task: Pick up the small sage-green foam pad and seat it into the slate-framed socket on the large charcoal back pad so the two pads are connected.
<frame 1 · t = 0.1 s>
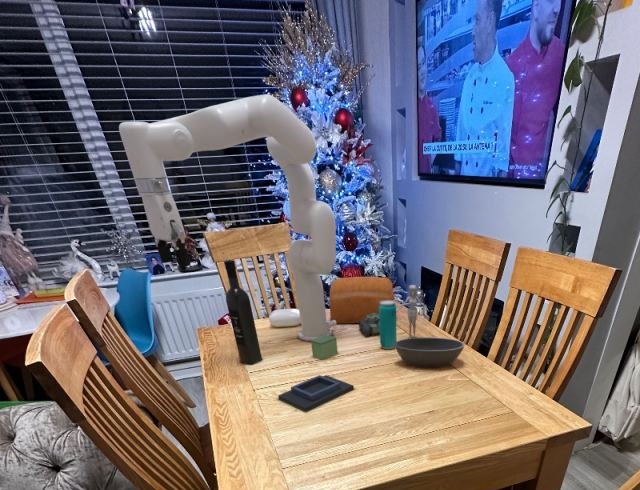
hand: (176, 264, 117), 31 cm above the table, tool pointing down, fingers open, 9 cm apart
back pad: (316, 394, 123), on the table
earbud case: (287, 325, 174), on the table
bowl: (428, 363, 138), on the table
wine bottle: (251, 361, 144), on the table
toy tank: (374, 332, 164), on the table
human figurine: (412, 339, 157), on the table
green pad: (325, 355, 146), on the table
beverage can: (388, 347, 151), on the table
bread: (363, 319, 177), on the table
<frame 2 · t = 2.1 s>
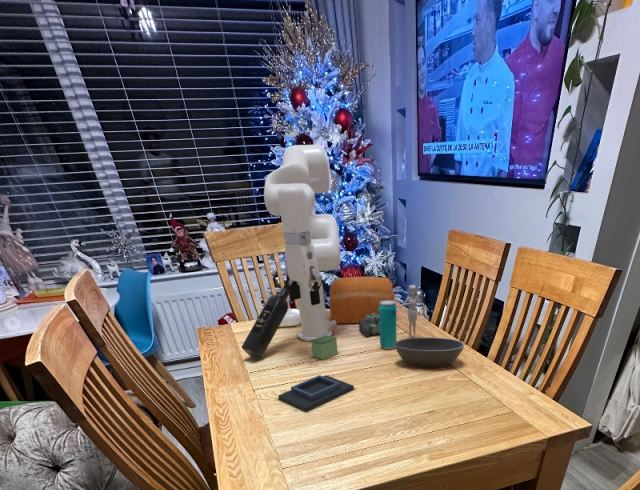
hand: (306, 301, 134), 18 cm above the table, tool pointing down, fingers open, 9 cm apart
wine bottle: (250, 354, 143), point 2 cm above the table, touching arm
everything else where it was.
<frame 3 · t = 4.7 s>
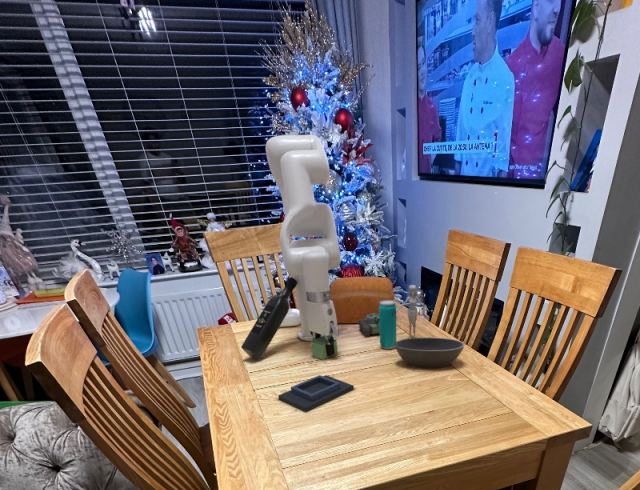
hand: (325, 352, 146), 1 cm above the table, tool pointing down, fingers closed on green pad, 5 cm apart
green pad: (325, 355, 146), on the table, touching gripper
everything else where it was.
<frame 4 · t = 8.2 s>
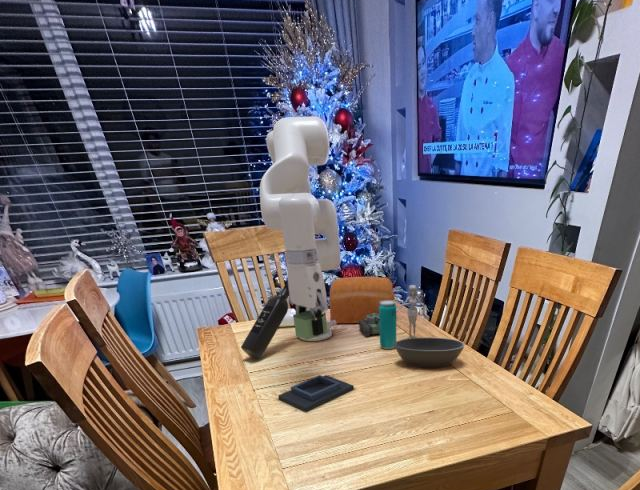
hand: (311, 331, 117), 16 cm above the table, tool pointing down, fingers closed on green pad, 5 cm apart
green pad: (311, 334, 117), point 15 cm above the table, touching gripper
everything else where it was.
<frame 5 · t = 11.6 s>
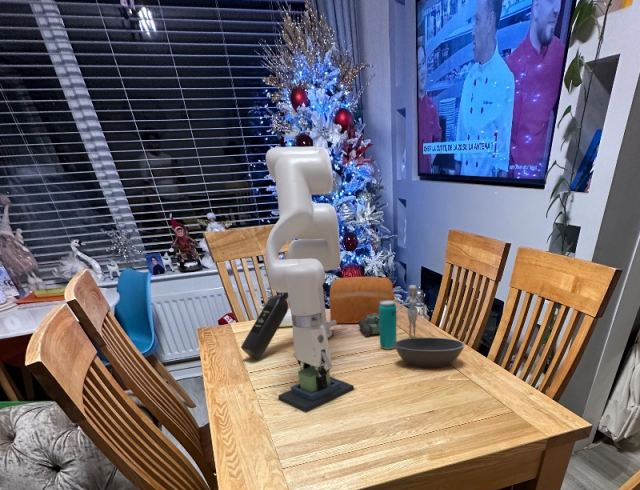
hand: (315, 385, 121), 3 cm above the table, tool pointing down, fingers closed on green pad, 5 cm apart
green pad: (316, 388, 121), point 2 cm above the table, touching gripper
everything else where it was.
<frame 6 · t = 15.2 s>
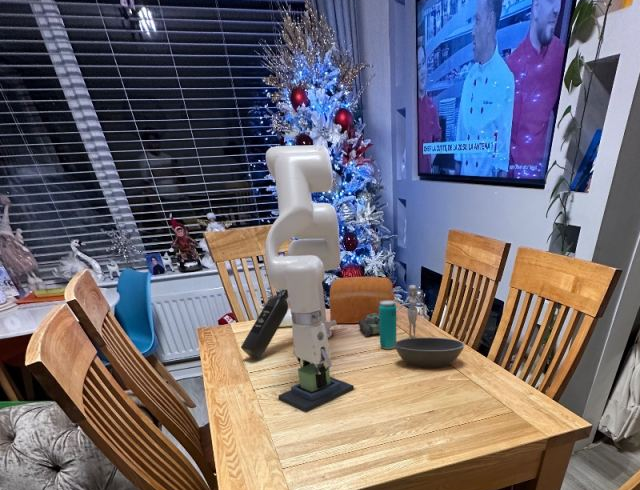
hand: (315, 383, 121), 3 cm above the table, tool pointing down, fingers closed on green pad, 4 cm apart
green pad: (315, 385, 121), point 2 cm above the table, touching gripper
everything else where it was.
when the fingers open (4 cm above the table, at t = 18.4 s): green pad drops 2 cm, resting on back pad.
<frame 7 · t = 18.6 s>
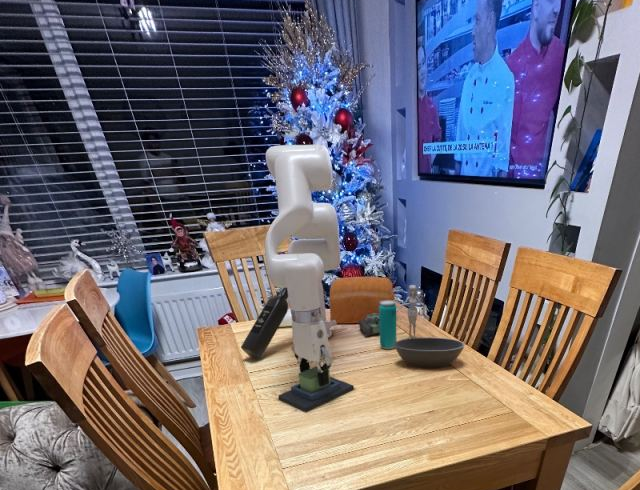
hand: (315, 380, 120), 4 cm above the table, tool pointing down, fingers open, 7 cm apart
green pad: (316, 390, 122), point 1 cm above the table, touching back pad
everything else where it was.
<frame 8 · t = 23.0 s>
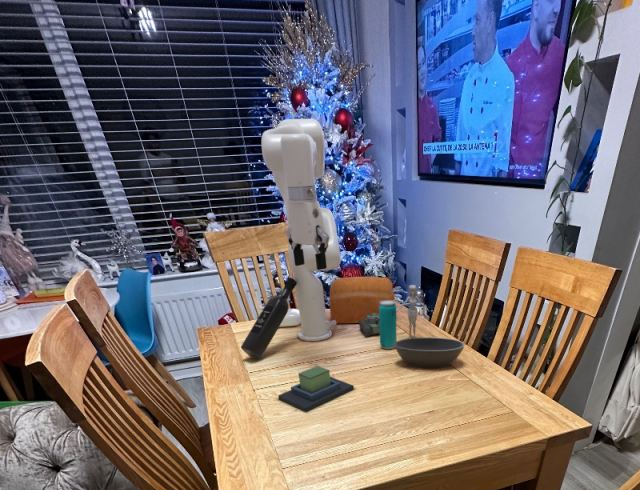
hand: (310, 267, 124), 28 cm above the table, tool pointing down, fingers open, 9 cm apart
nothing on the table moved.
at the end: green pad 0.1 cm off-centre on the back pad, point 1.2 cm above the back pad's base; green pad tilted 0°; the gripper is holding nothing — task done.
